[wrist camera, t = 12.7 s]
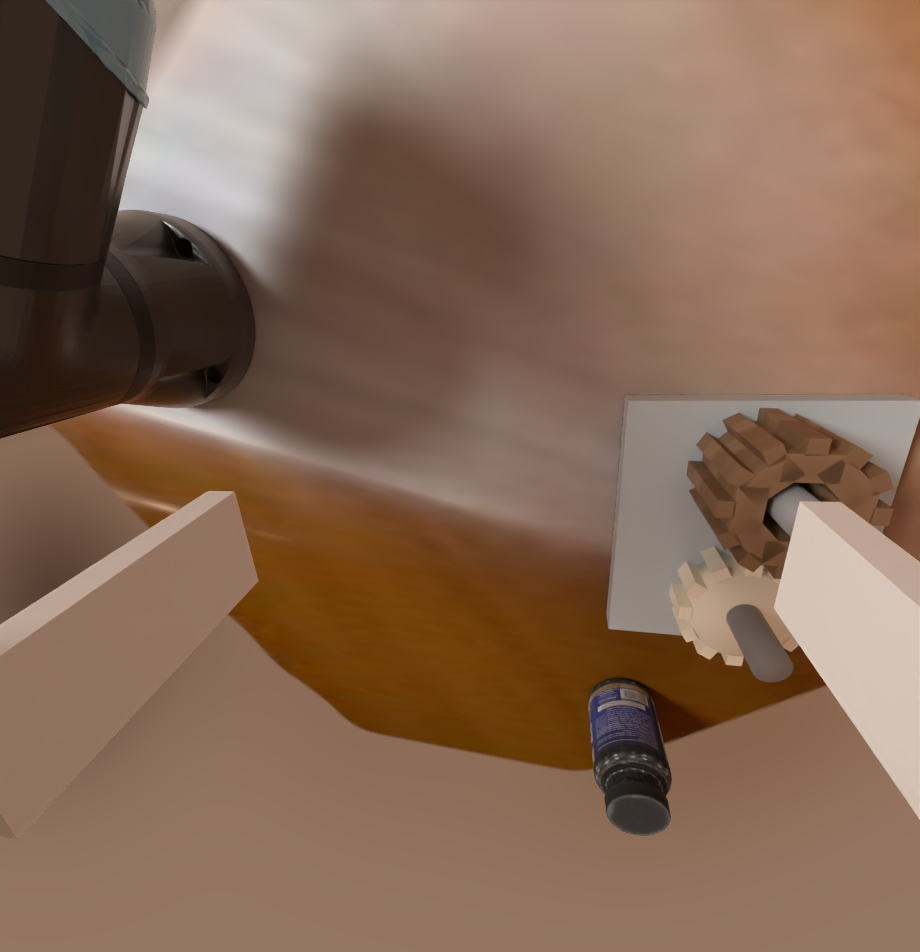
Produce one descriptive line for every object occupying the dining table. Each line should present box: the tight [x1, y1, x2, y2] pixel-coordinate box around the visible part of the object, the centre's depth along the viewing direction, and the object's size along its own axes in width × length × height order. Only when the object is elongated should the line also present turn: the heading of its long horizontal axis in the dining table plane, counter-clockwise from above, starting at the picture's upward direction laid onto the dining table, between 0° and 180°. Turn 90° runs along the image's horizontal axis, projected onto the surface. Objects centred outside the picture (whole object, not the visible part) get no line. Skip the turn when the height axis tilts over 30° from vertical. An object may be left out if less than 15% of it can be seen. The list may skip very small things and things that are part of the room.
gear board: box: [606, 394, 920, 682], centre depth 33 cm, size 18×20×10 cm
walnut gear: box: [686, 408, 894, 579], centre depth 30 cm, size 9×9×7 cm
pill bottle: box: [588, 678, 672, 836], centre depth 41 cm, size 6×6×11 cm
